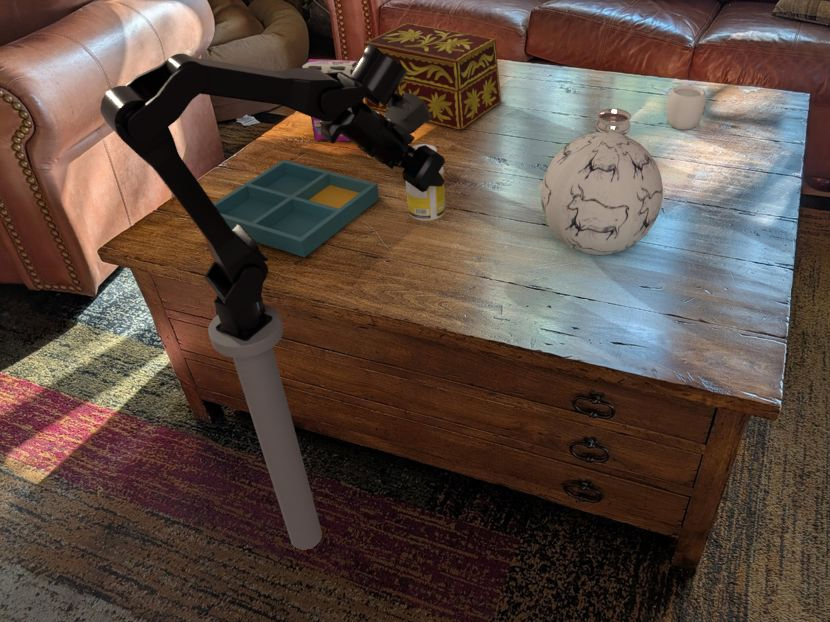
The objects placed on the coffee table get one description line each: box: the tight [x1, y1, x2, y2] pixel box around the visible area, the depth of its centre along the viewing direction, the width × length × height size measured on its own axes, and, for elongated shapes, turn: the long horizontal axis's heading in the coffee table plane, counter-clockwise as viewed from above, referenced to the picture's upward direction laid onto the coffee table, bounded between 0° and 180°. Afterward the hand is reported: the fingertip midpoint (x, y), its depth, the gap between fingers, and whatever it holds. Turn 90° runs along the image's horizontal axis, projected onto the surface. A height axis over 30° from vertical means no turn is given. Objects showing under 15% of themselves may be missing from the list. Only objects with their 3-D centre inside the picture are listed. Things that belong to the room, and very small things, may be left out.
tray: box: [213, 159, 380, 258], centre depth 137 cm, size 23×23×3 cm
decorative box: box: [363, 22, 502, 131], centre depth 171 cm, size 28×19×15 cm
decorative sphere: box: [540, 131, 664, 256], centre depth 121 cm, size 20×20×20 cm
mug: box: [665, 84, 708, 130], centre depth 163 cm, size 12×8×8 cm
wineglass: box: [594, 107, 632, 136], centre depth 144 cm, size 7×7×12 cm
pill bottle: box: [405, 143, 446, 222], centre depth 122 cm, size 6×6×12 cm
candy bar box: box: [301, 58, 359, 143], centre depth 157 cm, size 11×5×16 cm, turn 81°
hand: (431, 176), depth 122 cm, fingers closed on pill bottle, 6 cm apart
